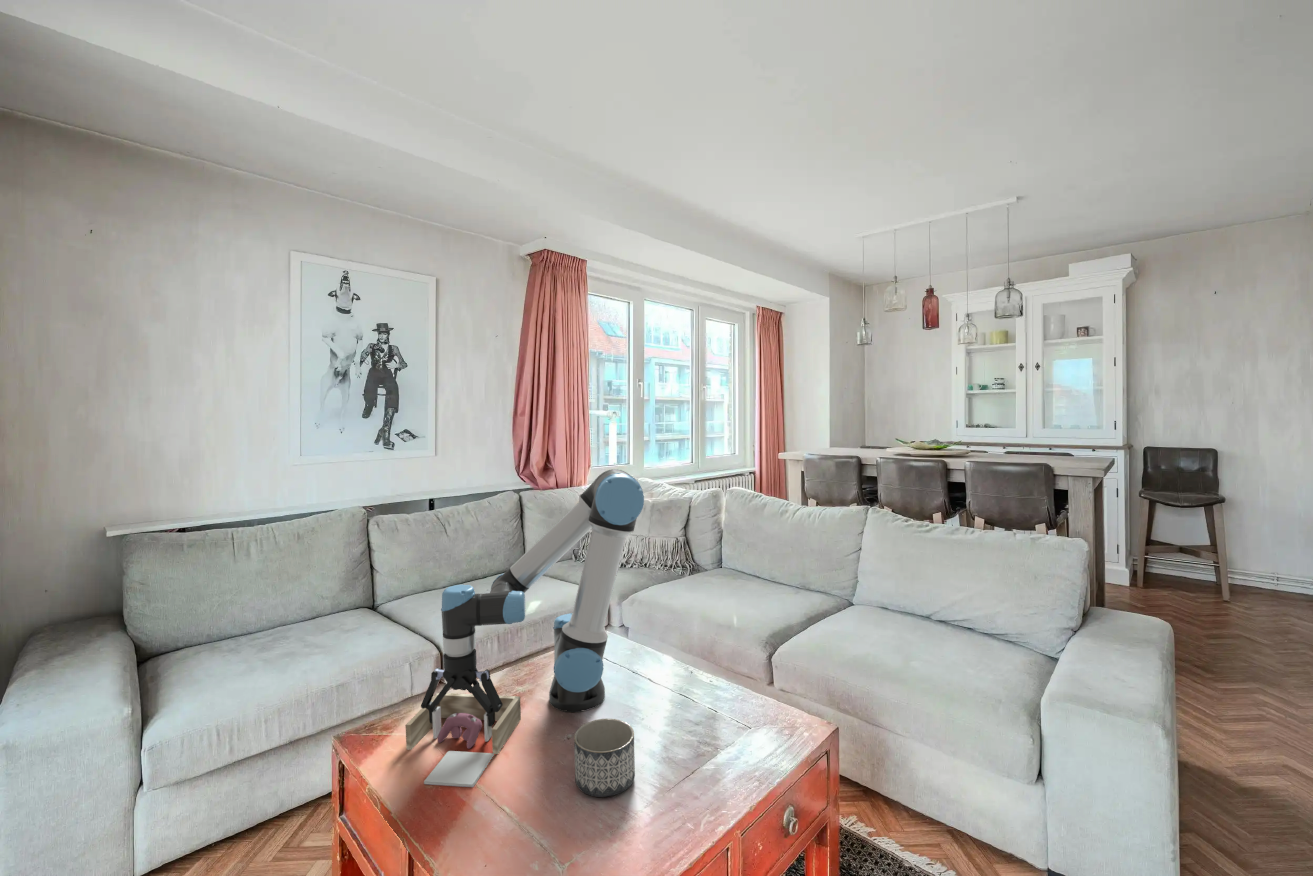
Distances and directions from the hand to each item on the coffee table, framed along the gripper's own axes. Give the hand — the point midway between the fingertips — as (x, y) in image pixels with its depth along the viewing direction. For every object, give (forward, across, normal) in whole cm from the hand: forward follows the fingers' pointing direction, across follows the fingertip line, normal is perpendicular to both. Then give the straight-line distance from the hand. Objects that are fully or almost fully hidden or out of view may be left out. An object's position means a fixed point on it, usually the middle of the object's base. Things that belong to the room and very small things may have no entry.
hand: (462, 736), depth 141 cm
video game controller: (0, 0, +1) cm, 1 cm away
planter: (0, -38, +13) cm, 40 cm away
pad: (0, -5, +12) cm, 13 cm away
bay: (0, 0, -2) cm, 2 cm away
